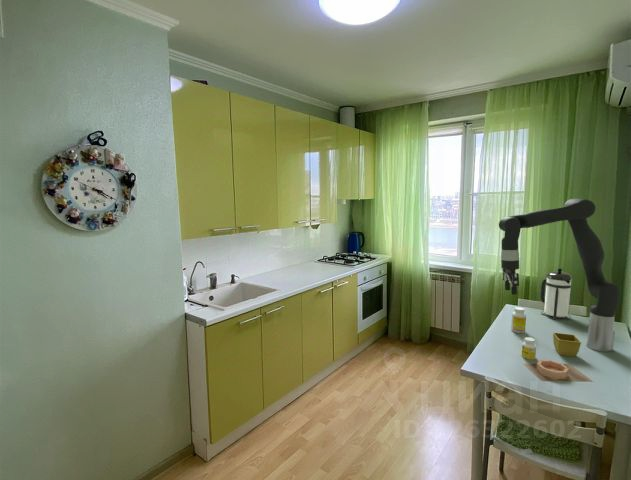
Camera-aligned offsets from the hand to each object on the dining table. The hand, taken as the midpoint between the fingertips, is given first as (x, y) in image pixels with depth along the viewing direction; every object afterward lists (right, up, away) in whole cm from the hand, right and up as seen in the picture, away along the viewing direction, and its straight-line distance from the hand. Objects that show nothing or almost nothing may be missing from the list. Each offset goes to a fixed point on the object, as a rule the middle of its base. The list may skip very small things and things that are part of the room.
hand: (510, 292), depth 167 cm
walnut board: (+7, -32, -21) cm, 39 cm away
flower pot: (+23, -29, -4) cm, 37 cm away
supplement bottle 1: (+17, -25, +24) cm, 39 cm away
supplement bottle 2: (+4, -30, -7) cm, 31 cm away
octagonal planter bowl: (+5, -31, -21) cm, 38 cm away
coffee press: (+51, -21, +45) cm, 72 cm away
